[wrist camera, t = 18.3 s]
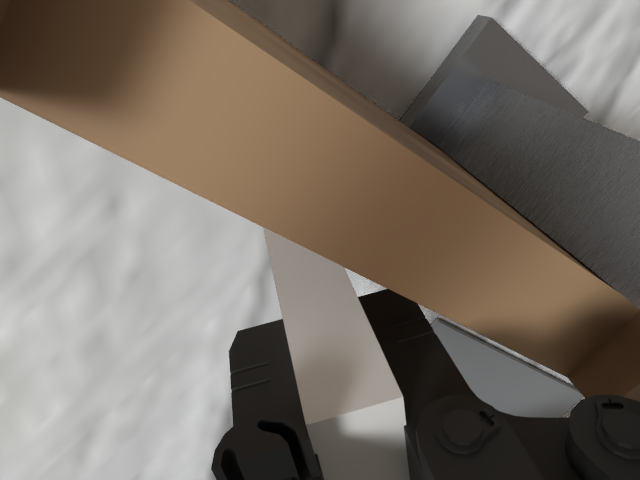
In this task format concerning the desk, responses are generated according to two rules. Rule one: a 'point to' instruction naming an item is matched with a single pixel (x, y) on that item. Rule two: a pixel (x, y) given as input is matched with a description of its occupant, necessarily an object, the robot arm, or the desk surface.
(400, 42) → the desk surface
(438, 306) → the gate
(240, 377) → the robot arm
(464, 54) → the post
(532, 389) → the mat
